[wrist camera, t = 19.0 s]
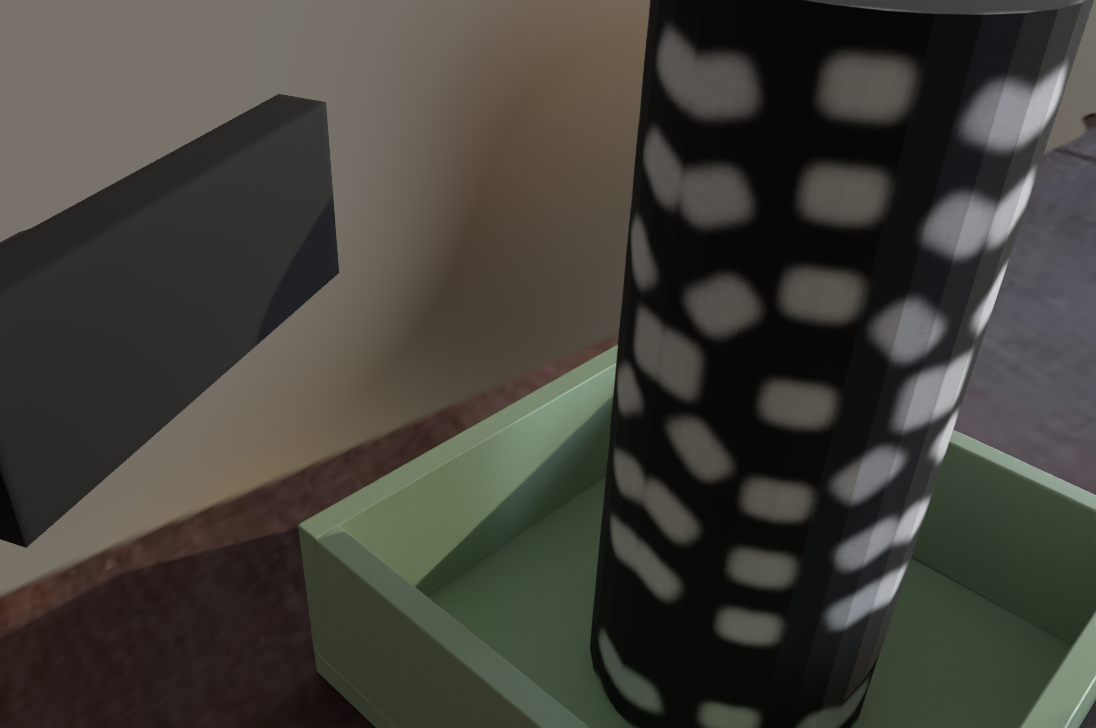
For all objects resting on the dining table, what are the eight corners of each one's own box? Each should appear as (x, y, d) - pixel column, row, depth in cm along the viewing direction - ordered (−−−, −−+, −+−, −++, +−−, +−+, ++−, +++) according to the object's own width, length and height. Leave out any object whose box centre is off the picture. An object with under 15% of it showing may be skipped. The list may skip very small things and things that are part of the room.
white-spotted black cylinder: (858, 579, 33) (1045, -63, 22) (875, 801, 27) (1158, 34, 16) (610, 537, 35) (674, -92, 24) (566, 740, 28) (628, -12, 17)
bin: (315, 671, 31) (296, 524, 27) (668, 431, 42) (685, 305, 38) (823, 1158, 21) (889, 1019, 18) (1109, 675, 32) (1183, 534, 29)
